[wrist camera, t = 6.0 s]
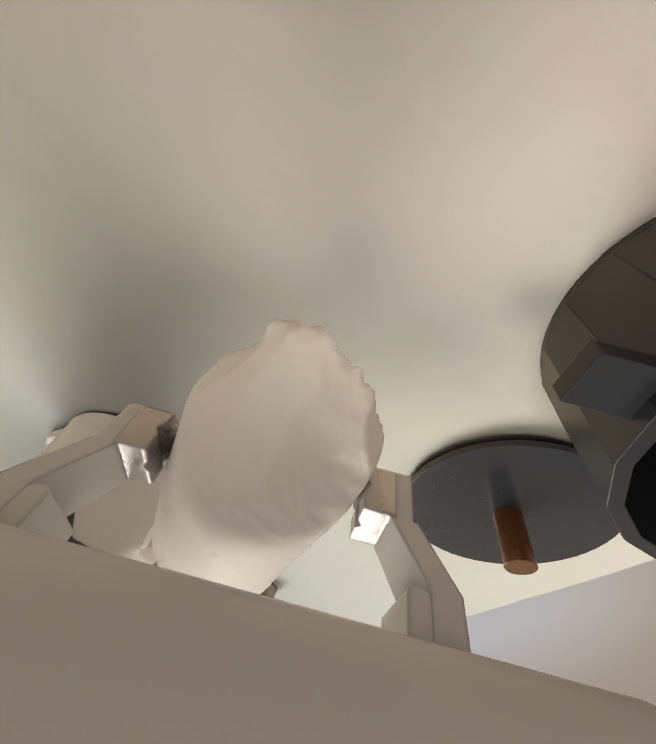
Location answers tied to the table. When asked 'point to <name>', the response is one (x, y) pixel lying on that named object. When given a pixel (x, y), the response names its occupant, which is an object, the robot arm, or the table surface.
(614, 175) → the table surface
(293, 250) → the table surface
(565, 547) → the pot lid
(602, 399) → the pot
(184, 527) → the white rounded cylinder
